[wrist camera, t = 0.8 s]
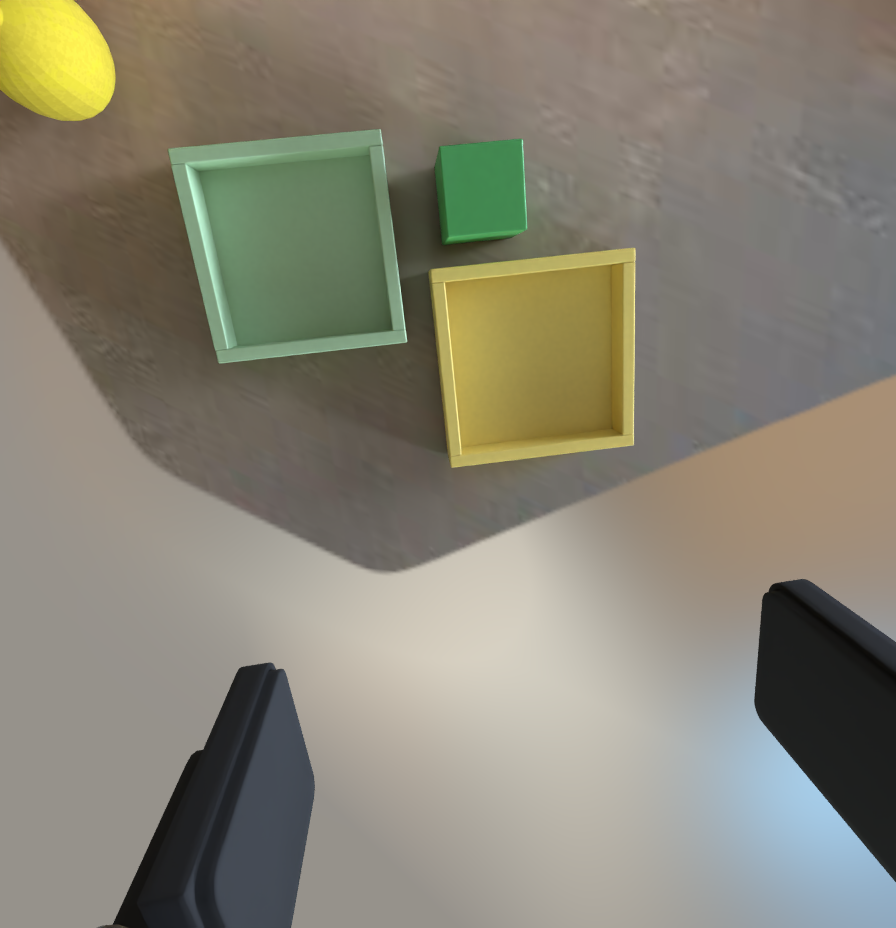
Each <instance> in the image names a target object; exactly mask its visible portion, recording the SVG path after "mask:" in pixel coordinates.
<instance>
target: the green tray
mask: <svg viewBox="0 0 896 928" xmlns="http://www.w3.org/2000/svg"><path fill="white" fill-rule="evenodd" d="M168 154H169V158H170V162H171V164H172V165H171V167H172V171H173V176H174V180H175V184H176V188H177V193H178V197H179V201H180V205H181V209H182V214H183V218H184V222H185V226H186V230H187V235H188V239H189V243H190V247H191V252H192V256H193V260H194V264H195V268H196V273H197V277H198V281H199V285H200V289H201V294H202V298H203V302H204V306H205V310H206V315H207V319H208V323H209V327H210V332H211V336H212V340H213V344H214V348H215V350H216V356H217V360H218V363H228V362H237V361H246V360H255V359H263V358H272V357H281V356H290V355H299V354H308V353H317V352H326V351H335V350H344V349H353V348H362V347H371V346H380V345H389V344H397V343H406V342H407V336H406V328H405V320H404V312H403V304H402V296H401V288H400V280H399V272H398V264H397V256H396V248H395V239H394V231H393V223H392V215H391V207H390V199H389V191H388V183H387V175H386V167H385V159H384V151H383V143H382V135H381V130H380V129H375V130H364V131H353V132H342V133H331V134H321V135H310V136H299V137H288V138H277V139H267V140H256V141H245V142H234V143H223V144H213V145H202V146H191V147H180V148H170V149H168Z"/></svg>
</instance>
